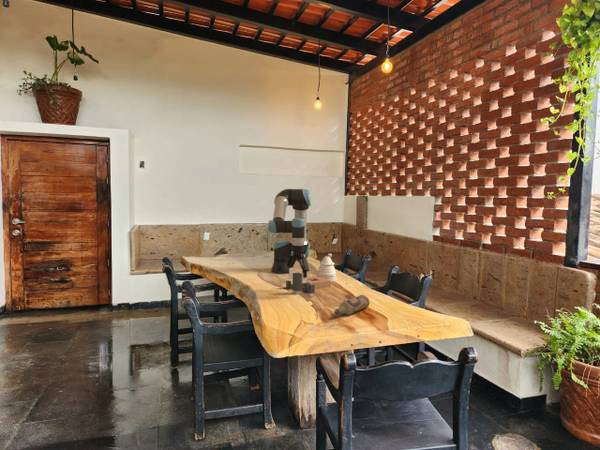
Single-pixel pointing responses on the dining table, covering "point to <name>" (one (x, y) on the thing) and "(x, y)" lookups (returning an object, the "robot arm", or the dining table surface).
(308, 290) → the clip
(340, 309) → the decorative bottle
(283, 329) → the dining table surface
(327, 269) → the honey pot
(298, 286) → the plug
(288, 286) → the clip
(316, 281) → the end holder
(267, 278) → the dining table surface
